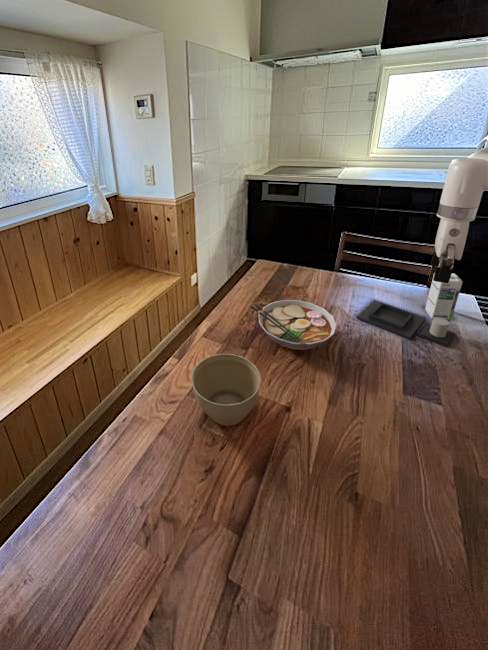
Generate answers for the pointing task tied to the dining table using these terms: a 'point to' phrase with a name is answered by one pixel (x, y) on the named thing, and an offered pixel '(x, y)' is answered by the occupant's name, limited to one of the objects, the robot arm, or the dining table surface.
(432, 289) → the syrup box
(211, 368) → the planter bowl
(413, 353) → the dining table surface
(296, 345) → the ramen bowl
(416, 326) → the base pad
